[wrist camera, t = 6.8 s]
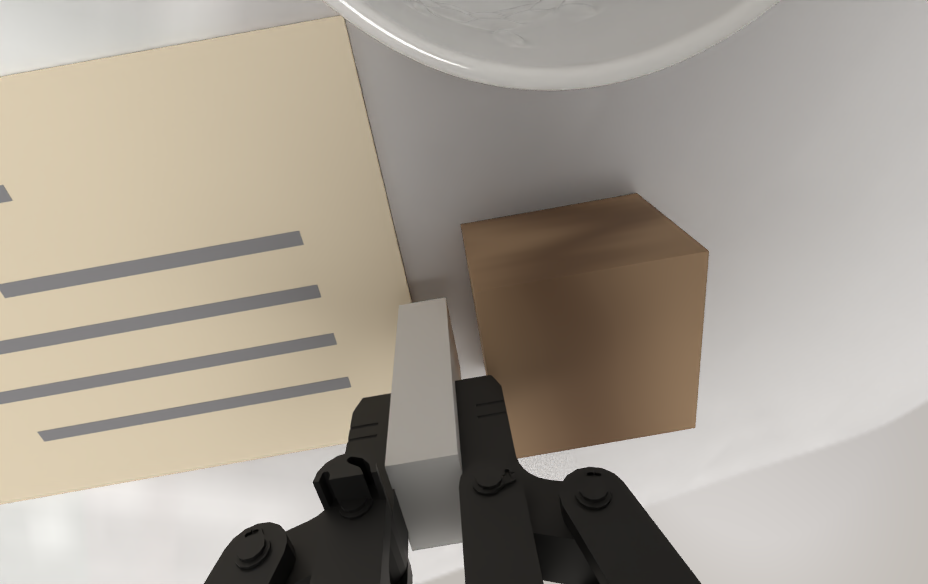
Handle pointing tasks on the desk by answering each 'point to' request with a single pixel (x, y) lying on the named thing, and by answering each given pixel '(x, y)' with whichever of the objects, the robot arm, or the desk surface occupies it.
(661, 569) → the robot arm
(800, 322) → the desk surface
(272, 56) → the letter
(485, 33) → the white cup
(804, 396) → the desk surface
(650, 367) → the block
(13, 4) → the desk surface
